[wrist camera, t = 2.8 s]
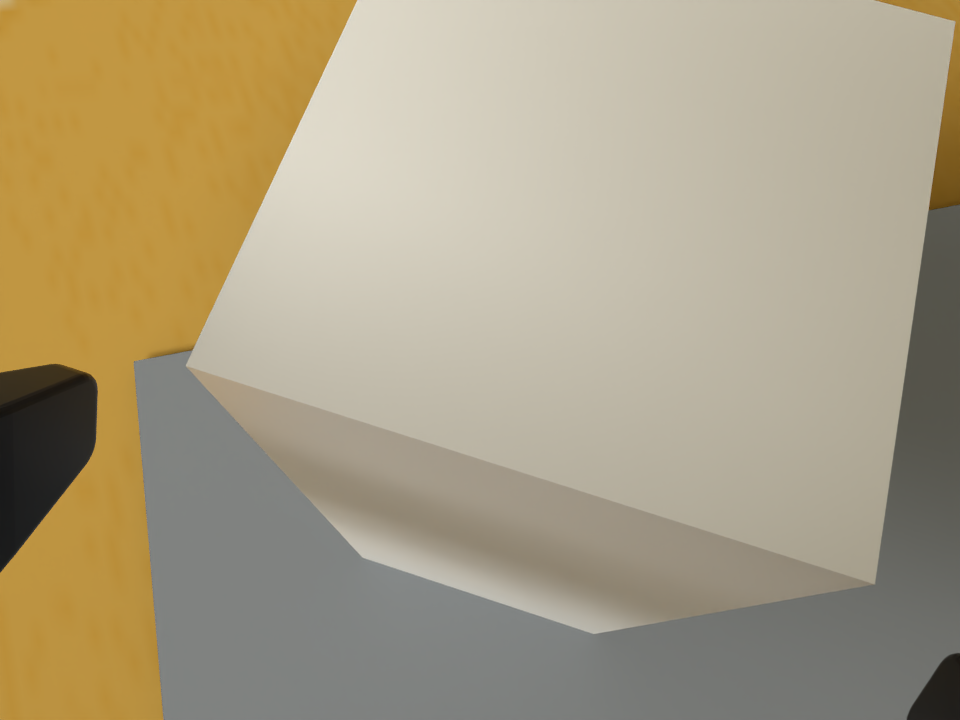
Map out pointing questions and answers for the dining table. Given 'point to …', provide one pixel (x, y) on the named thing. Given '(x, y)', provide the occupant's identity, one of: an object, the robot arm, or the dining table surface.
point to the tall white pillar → (595, 296)
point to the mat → (512, 632)
